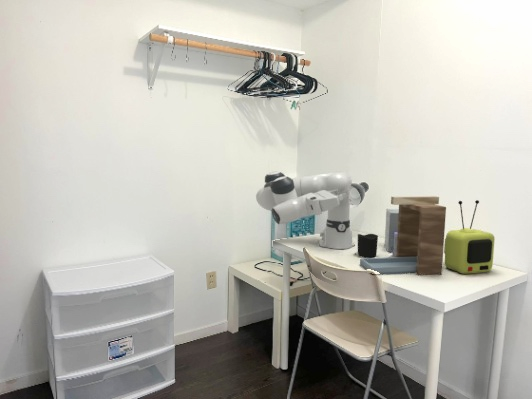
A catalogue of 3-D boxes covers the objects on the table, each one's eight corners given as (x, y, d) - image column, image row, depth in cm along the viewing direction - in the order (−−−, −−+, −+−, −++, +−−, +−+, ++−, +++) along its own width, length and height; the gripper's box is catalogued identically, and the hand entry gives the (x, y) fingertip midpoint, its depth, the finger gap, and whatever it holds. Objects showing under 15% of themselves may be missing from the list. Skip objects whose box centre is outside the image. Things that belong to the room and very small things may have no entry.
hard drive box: (403, 253, 199) (405, 213, 197) (387, 252, 200) (389, 212, 198) (398, 245, 214) (400, 208, 212) (384, 245, 216) (385, 208, 213)
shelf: (396, 261, 183) (399, 200, 180) (416, 261, 185) (420, 200, 181) (419, 275, 164) (422, 207, 160) (441, 274, 165) (446, 207, 162)
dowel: (390, 203, 170) (391, 196, 170) (434, 203, 173) (435, 196, 173) (394, 204, 167) (394, 197, 167) (438, 204, 170) (439, 197, 170)
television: (463, 276, 163) (468, 203, 159) (433, 264, 180) (437, 197, 177) (497, 272, 168) (503, 201, 164) (465, 261, 185) (469, 196, 182)
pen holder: (373, 259, 187) (374, 238, 186) (354, 256, 192) (354, 235, 191) (379, 255, 195) (380, 234, 194) (360, 252, 200) (361, 232, 199)
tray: (359, 265, 178) (360, 258, 177) (416, 263, 182) (417, 256, 181) (372, 275, 164) (373, 267, 163) (434, 272, 168) (434, 265, 167)
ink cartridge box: (413, 257, 191) (414, 227, 189) (415, 260, 185) (416, 229, 184) (391, 256, 193) (393, 226, 191) (392, 259, 187) (394, 228, 186)
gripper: (307, 206, 175) (337, 196, 176) (319, 216, 155) (352, 204, 156) (303, 193, 174) (333, 182, 175) (314, 200, 154) (348, 189, 155)
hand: (342, 193), depth 165 cm, fingers open, 8 cm apart
